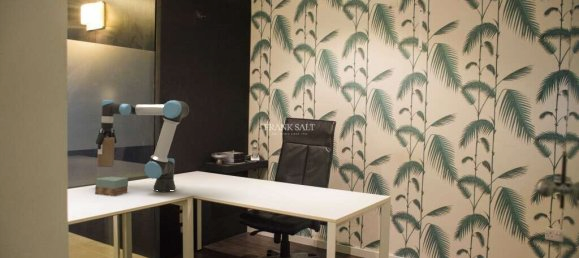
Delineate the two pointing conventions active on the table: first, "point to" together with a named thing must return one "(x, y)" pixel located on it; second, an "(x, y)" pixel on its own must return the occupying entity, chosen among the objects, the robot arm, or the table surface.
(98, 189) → the tower base
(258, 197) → the table surface
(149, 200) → the table surface
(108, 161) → the block
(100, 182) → the tower top
